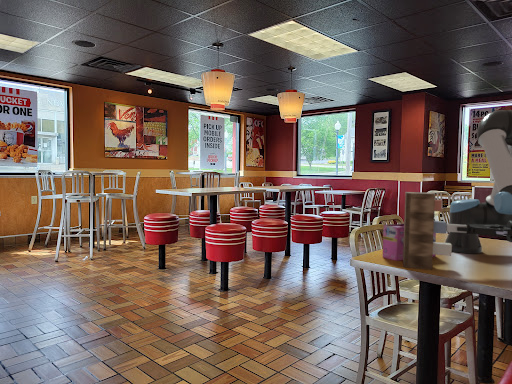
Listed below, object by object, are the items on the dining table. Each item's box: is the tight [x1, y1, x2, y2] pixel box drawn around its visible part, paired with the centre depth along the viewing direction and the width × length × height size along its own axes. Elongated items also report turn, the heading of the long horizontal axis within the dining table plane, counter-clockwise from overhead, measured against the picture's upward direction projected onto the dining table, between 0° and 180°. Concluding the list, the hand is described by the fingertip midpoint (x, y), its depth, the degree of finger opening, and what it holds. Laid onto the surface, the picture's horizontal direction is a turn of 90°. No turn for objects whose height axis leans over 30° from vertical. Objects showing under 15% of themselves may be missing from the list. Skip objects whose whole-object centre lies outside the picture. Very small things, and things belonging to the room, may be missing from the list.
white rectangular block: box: [433, 241, 453, 257], centre depth 141 cm, size 9×4×4 cm, turn 71°
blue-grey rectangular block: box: [434, 220, 447, 234], centre depth 142 cm, size 9×4×4 cm, turn 71°
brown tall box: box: [402, 191, 436, 271], centre depth 143 cm, size 10×10×27 cm
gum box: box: [382, 223, 437, 262], centre depth 159 cm, size 24×8×14 cm, turn 116°
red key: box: [434, 199, 443, 212], centre depth 142 cm, size 9×4×4 cm, turn 71°
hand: (446, 227), depth 140 cm, fingers closed
